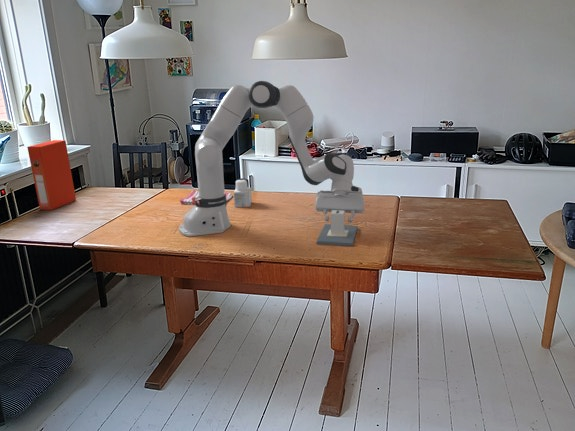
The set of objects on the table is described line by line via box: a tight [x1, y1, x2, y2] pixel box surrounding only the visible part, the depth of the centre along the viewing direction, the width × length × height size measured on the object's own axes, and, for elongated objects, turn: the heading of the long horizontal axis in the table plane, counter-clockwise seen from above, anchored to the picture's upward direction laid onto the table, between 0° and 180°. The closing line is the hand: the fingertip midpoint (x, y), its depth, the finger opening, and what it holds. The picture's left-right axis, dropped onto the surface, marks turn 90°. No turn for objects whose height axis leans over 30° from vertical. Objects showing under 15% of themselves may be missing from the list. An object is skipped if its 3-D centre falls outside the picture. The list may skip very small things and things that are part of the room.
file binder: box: [26, 139, 77, 211], centre depth 257 cm, size 8×17×32 cm, turn 161°
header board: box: [316, 223, 358, 247], centre depth 207 cm, size 20×14×4 cm
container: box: [233, 177, 253, 208], centre depth 251 cm, size 8×8×13 cm
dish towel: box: [179, 189, 234, 206], centre depth 262 cm, size 17×23×4 cm
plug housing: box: [330, 210, 346, 235], centre depth 206 cm, size 4×5×9 cm
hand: (338, 221), depth 207 cm, fingers open, 8 cm apart
